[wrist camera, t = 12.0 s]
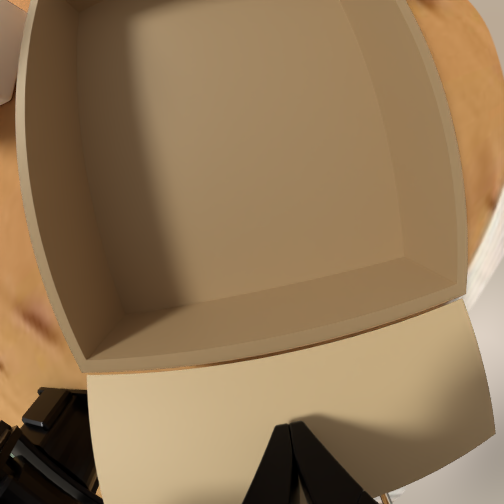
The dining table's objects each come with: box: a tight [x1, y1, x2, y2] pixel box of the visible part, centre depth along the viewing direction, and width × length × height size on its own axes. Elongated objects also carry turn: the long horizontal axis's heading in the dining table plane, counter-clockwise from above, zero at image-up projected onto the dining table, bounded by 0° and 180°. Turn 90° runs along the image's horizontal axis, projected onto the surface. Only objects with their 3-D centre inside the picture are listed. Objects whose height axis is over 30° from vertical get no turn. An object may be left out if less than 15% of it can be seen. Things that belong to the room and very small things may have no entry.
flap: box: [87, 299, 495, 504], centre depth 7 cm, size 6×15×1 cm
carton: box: [15, 0, 468, 373], centre depth 9 cm, size 20×16×5 cm
